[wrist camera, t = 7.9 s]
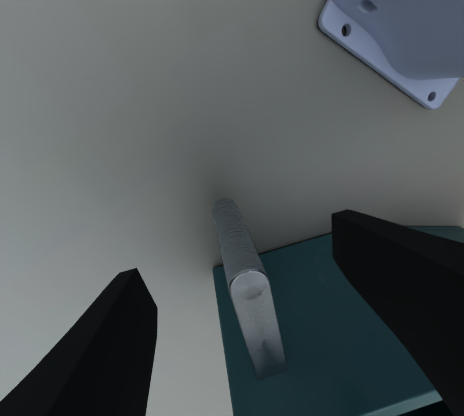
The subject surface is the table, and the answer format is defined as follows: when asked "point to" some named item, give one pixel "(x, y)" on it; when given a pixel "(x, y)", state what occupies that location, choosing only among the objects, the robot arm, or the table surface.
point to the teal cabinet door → (305, 333)
